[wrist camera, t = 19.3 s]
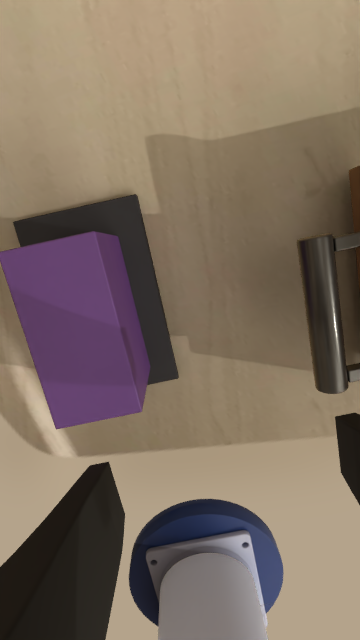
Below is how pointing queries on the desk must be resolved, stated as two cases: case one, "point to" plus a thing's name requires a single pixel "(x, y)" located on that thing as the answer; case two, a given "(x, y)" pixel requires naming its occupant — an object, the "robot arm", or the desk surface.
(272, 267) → the desk surface
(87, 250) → the purple box
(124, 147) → the desk surface
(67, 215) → the felt mat
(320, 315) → the drawer
